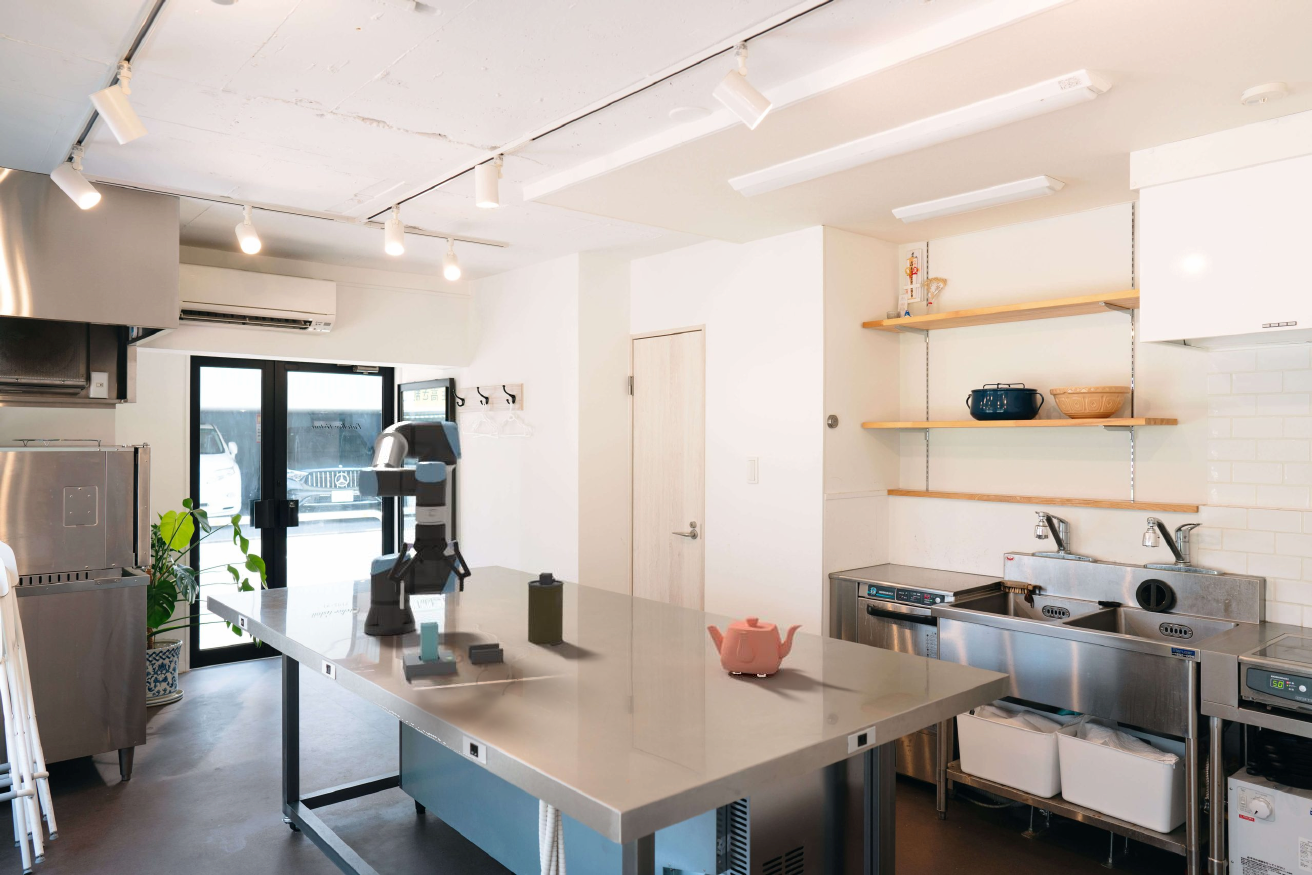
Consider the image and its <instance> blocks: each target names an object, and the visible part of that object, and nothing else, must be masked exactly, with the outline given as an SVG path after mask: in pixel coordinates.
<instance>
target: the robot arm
mask: <svg viewBox="0 0 1312 875" xmlns="http://www.w3.org/2000/svg"><path fill="white" fill-rule="evenodd" d="M459 434H460V433H459V427H458V425H457V423H456V422H454V421H443V420H424V421H423V420H422V421H421V420H416V421H415V420H405V421H400V422H397V423H394V424H391V425H390V426H388V427H386V428H385V429H383V430H382V431H381V432H380V433H379V434H378V436H377V437H376V439H375V441H374V445H373V446H374V452H375V454H374V457H373V460H372V463H371V466H369V467H363V468H360V470H359V473H358V492H359V495H360V496H362V497H372V498H376V497H377V498H380V497H385V498H386V497H415V505H414V506H415V509H414V512H415V513H414V515H415V516H414V517H415V518H414V520H415V522H416V523H415V525H414V532H415V533H414V542H413V543H412V542H411V543H410V542H406V541H403V542H402V543H401V549H400V550H401V551H400V552H397V553H396V552H395V553H391V554H385V555H381V556H378V557H375V558H374V559H373V560H371V565H370V572H369V574H370V606H369V609H368V611H367V614H366V617H365V621H364V624H363V625H364V626H363V631H364V633H365V634H367V635H368V634H369V635H374V636H391V635H394V636H395V635H402V634H407V633H410V632H413V631H415V630H416V619H415V615H414V613H413V610H412V607H411V596H428V595H429V596H430V595H431V596H433V595H437V596H438V595H439V596H442V595H448V594H450V595H451V594H453V593H454V604H455V606H456V607H457V606H460V593H462V592H464V590H465V588H464V586H465V584H464V582H465V581H464V580H465V579H466V578H469V577H471V576H472V573H471V571H470V568H469V567H468V565H467V563H466V561H465V559H464V557H463V555H462V553H461V551H460V547H459V542H458V541H457V540H452V488H453V487H452V482H453V481H452V478H453V477H452V476H453V469H454V468H455V467H456V466H457V462H458V460H461V459H462V451H461V450H462V448H461V442H460V435H459ZM403 459H406V460H407V459H408V460H409V459H411V460H413V459H414V460H418V461H417V463H416V465H415V467H401V466H402V462H403ZM411 549H413V550H414V552H415V554H414V555H413V557H412V555H411V553H410V551H411ZM460 567H461V568H462V570H463V572H461V571H460Z"/></svg>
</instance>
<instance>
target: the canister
mask: <svg viewBox="0 0 1312 875" xmlns="http://www.w3.org/2000/svg"><path fill="white" fill-rule="evenodd" d="M538 578H539V579H537V580H530V581H528V582H527V585H528V588H527V590H528V591H527V593H528V595H527V596H528V597H527V598H528V600H527V602H528V603H527V606H528V609H527V611H528V613H527V619H528V620H527V641H528V642H529V643H532V644H536V645H550V646H557V645H559V644H563V643H564V639H563V638H564V637H563V631H564V630H563V628H564V627H563V626H564V625H563V624H564V623H563V622H564V621H563V620H564V610H563V609H564V608H563V607H564V584H565V583H564V581H562V580H559V579H556V578H555V577H554V576H553V572H541V573H540V574H539V576H538Z"/></svg>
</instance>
